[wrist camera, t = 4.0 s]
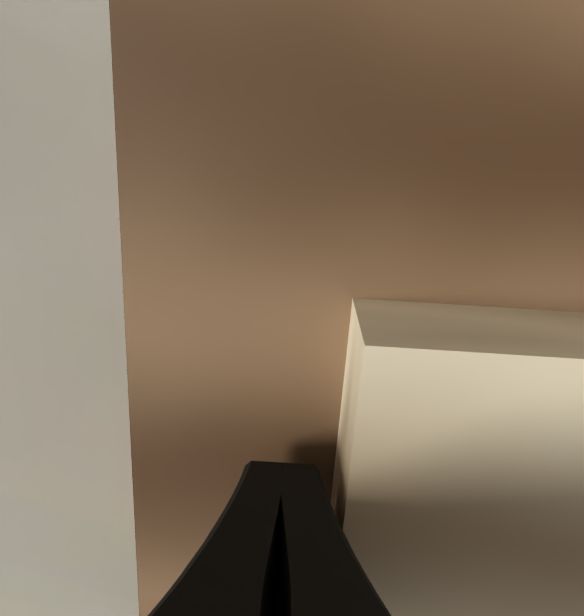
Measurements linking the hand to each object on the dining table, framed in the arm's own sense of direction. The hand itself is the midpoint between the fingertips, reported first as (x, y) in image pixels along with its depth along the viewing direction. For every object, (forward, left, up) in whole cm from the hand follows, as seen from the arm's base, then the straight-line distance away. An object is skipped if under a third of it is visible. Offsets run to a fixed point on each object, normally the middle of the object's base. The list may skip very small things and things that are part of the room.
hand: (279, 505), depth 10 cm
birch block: (0, -5, -1) cm, 5 cm away
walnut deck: (0, -2, -4) cm, 5 cm away
